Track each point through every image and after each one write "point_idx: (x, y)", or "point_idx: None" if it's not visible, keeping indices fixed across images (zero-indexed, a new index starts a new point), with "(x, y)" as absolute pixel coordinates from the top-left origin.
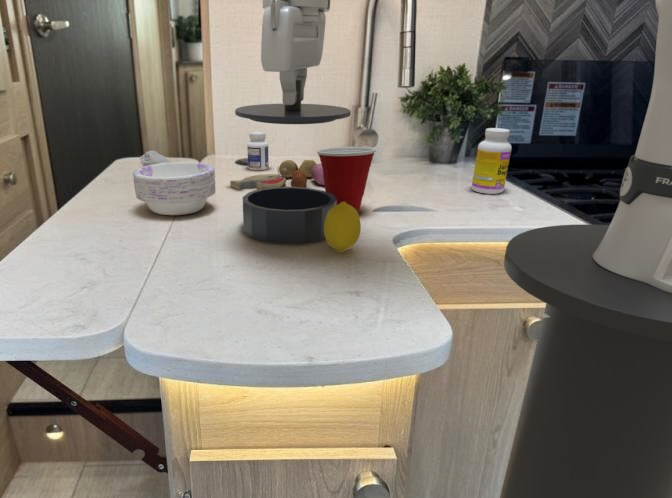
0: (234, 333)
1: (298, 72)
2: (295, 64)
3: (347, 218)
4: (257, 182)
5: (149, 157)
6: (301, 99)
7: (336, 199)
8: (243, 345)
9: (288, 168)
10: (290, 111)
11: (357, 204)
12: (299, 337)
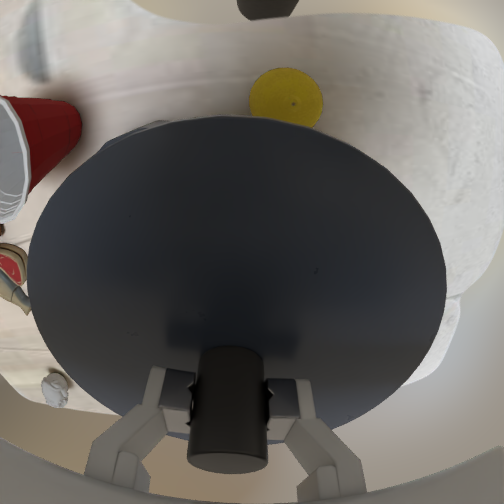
0: (483, 216)
1: (144, 478)
2: (456, 484)
3: (320, 94)
4: (20, 285)
5: (60, 402)
6: (187, 374)
7: (140, 128)
8: (497, 207)
9: None
10: (293, 364)
11: (61, 103)
12: (495, 164)
